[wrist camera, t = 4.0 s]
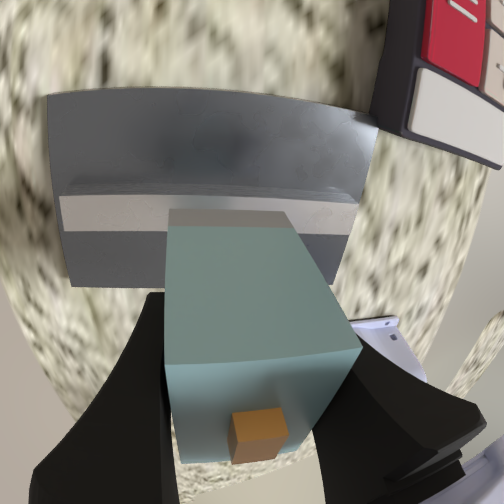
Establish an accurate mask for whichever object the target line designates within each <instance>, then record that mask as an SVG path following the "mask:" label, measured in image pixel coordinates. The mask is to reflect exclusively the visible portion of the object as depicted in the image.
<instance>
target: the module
mask: <svg viewBox="0 0 504 504" xmlns="http://www.w3.org/2000/svg"><path fill="white" fill-rule="evenodd" d="M362 348H363V346H362V344H361V342H360V341H359V339H358V337H357V335H356V333H355V332H354V330H353V328H352V326H351V324H350V323H349V321H348V319H347V317H346V315H345V314H344V312H343V310H342V308H341V307H340V305H339V303H338V301H337V300H336V298H335V296H334V294H333V293H332V291H331V289H330V287H329V286H328V284H327V282H326V280H325V279H324V277H323V275H322V274H321V272H320V270H319V268H318V267H317V265H316V263H315V262H314V260H313V258H312V257H311V255H310V253H309V252H308V250H307V248H306V247H305V245H304V243H303V242H302V240H301V238H300V237H299V235H298V233H297V232H296V230H295V229H294V227H293V225H292V224H291V222H290V220H289V219H288V217H287V216H286V214H285V212H284V211H260V210H225V209H169V217H168V231H167V248H166V270H165V306H164V356H165V371H166V379H167V386H168V393H169V399H170V405H171V412H172V418H173V423H174V429H175V434H176V440H177V445H178V450H179V455H180V460H181V464H188V463H207V462H220V461H231V464H232V465H233V464H242V463H250V462H257V461H264V460H270V459H275V457H276V456H277V454H282V453H287V452H293V451H296V450H297V449H298V448H299V446H300V445H301V444H302V442H303V441H304V440H305V438H306V437H307V435H308V434H309V433H310V431H311V430H312V428H313V427H314V425H315V424H316V422H317V421H318V420H319V418H320V417H321V415H322V414H323V412H324V411H325V409H326V408H327V406H328V405H329V403H330V401H331V400H332V398H333V397H334V395H335V394H336V392H337V391H338V389H339V387H340V386H341V384H342V382H343V381H344V379H345V378H346V376H347V374H348V373H349V371H350V369H351V368H352V366H353V364H354V362H355V361H356V359H357V357H358V355H359V354H360V352H361V350H362Z"/></svg>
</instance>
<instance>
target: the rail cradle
mask: <svg viewBox="0 0 504 504" xmlns="http://www.w3.org/2000/svg"><path fill="white" fill-rule="evenodd" d="M47 118H48V142H49V157H50V168H51V178H52V186H53V194H54V202H55V208H56V215H57V221H58V227H59V232H60V238H61V243H62V248H63V252H64V257H65V262H66V266H67V270H68V274H69V278H70V282H71V286H72V287H102V288H165V270H166V248H167V231H168V217H169V209H225V210H260V211H284V212H285V214H286V216H287V217H288V219H289V220H290V222H291V224H292V225H293V227H294V229H295V230H296V232H297V233H298V235H299V237H300V238H301V240H302V242H303V243H304V245H305V247H306V248H307V250H308V252H309V253H310V255H311V257H312V258H313V260H314V262H315V263H316V265H317V267H318V268H319V270H320V272H321V274H322V275H323V277H324V279H325V280H326V282H327V284H328V285H333V282H334V279H335V277H336V274H337V271H338V268H339V265H340V262H341V259H342V256H343V253H344V250H345V247H346V244H347V241H348V237H349V235H350V233H351V230H352V227H353V224H354V220H355V217H356V214H357V210H358V207H359V201H360V198H361V195H362V191H363V188H364V184H365V180H366V177H367V173H368V169H369V166H370V162H371V158H372V154H373V150H374V146H375V142H376V138H377V134H378V130H379V127H378V125H377V120H378V117H376V116H374V115H371V114H368V113H364V112H360V111H356V110H352V109H348V108H343V107H339V106H334V105H329V104H324V103H319V102H314V101H308V100H302V99H297V98H290V97H284V96H277V95H270V94H262V93H254V92H245V91H235V90H223V89H210V88H192V87H118V88H100V89H87V90H76V91H67V92H58V93H53V94H49V95H47Z"/></svg>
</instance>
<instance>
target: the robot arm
mask: <svg viewBox="0 0 504 504" xmlns="http://www.w3.org/2000/svg"><path fill="white" fill-rule="evenodd" d="M164 306H165V292H150V293H149V294H148V295H147V297H146V301H145V304H144V306H143V309H142V312H141V314H140V317H139V319H138V321H137V324H136V326H135V328H134V330H133V332H132V334H131V336H130V338H129V341H128V343H127V345H126V347H125V348H124V350H123V352H122V354H121V356H120V358H119V359H118V361H117V363H116V365H115V367H114V368H113V370H112V372H111V374H110V375H109V377H108V378H107V380H106V382H105V383H104V385H103V386H102V388H101V389H100V391H99V392H98V394H97V395H96V397H95V398H94V400H93V401H92V402H91V404H90V405H89V407H88V408H87V409H86V411H85V412H84V413H83V415H82V416H81V417H80V419H79V420H78V421H77V422H76V423H75V425H74V426H73V427H72V428H71V429H70V431H69V432H68V433H67V434H66V436H65V437H64V438H63V439H62V440H61V441H60V443H59V444H58V445H57V446H56V447H55V448H54V449H53V450H52V451H51V452H50V453H49V454H48V455H47V456H46V457H45V458H44V459H43V460H42V461H41V462H40V463H39V464H38V465H37V466H36V467H35V469H34V470H33V474H32V478H31V483H30V488H29V504H180V502H179V496H178V489H177V482H176V474H175V466H174V457H173V447H172V437H171V405H170V399H169V393H168V386H167V379H166V371H165V356H164ZM398 322H399V318H398V317H397V316H393V317H385V318H378V319H370V320H361V321H353V322H349V323H350V324H351V326H352V328H353V330H354V332H355V333H356V335H357V337H358V339H359V341H360V342H361V344H362V346H363V348H362V350H361V352H360V354H359V355H358V357H357V359H356V361H355V362H354V364H353V366H352V368H351V369H350V371H349V373H348V374H347V376H346V378H345V379H344V381H343V382H342V384H341V386H340V387H339V389H338V391H337V392H336V394H335V395H334V397H333V398H332V400H331V401H330V403H329V405H328V406H327V408H326V409H325V411H324V412H323V414H322V415H321V417H320V418H319V420H318V421H317V422H316V424H315V425H314V427H313V428H312V432H313V436H314V440H315V444H316V449H317V454H318V458H319V463H320V469H321V474H322V480H323V487H324V494H325V502H326V504H504V435H502V436H501V437H500V438H498V439H497V440H496V441H495V442H493V443H492V444H491V445H489V446H488V447H487V448H485V450H483V451H482V452H480V453H479V454H477V455H476V456H475V457H473V458H472V459H470V460H469V461H467V462H466V463H464V464H463V465H461V464H460V462H459V460H458V459H460V458H461V457H462V453H461V451H460V448H461V447H463V446H464V445H465V444H466V443H468V442H469V441H470V440H472V439H473V438H474V437H475V436H477V435H478V434H479V433H480V432H481V431H482V430H483V429H484V428H485V427H486V425H487V422H486V421H485V419H484V417H483V415H482V414H481V412H480V410H479V408H478V407H477V405H476V404H474V403H472V402H469V401H466V400H464V399H461V398H458V397H456V396H453V395H450V394H448V393H446V392H444V391H442V390H439V389H437V388H435V387H433V386H431V385H429V384H428V383H427V379H426V375H425V372H424V369H423V367H422V365H421V364H420V362H419V361H418V359H417V357H416V356H415V354H414V353H413V351H412V350H411V348H410V346H409V345H408V343H407V342H406V340H405V339H404V337H403V336H402V334H401V333H400V331H399V330H398V328H397V327H396V325H397V324H398Z"/></svg>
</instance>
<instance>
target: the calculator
mask: <svg viewBox="0 0 504 504" xmlns="http://www.w3.org/2000/svg"><path fill="white" fill-rule="evenodd" d="M369 114H371V115H374V116H376V117H378V120H377V125H378V127H379V129H381V130H384V131H386V132H389V133H392V134H394V135H397V136H400V137H402V138H406V139H409V140H412V141H416V142H419V143H422V144H426V145H429V146H432V147H435V148H438V149H441V150H444V151H447V152H450V153H453V154H456V155H459V156H462V157H464V158H467V159H470V160H472V161H475V162H478V163H480V164H483V165H485V166H488V167H490V168H493V169H495V170H500V169H501V167H502V165H503V164H504V0H390V6H389V15H388V24H387V32H386V39H385V46H384V53H383V56H382V58H381V60H380V63H379V67H378V73H377V78H376V83H375V88H374V92H373V97H372V102H371V106H370V111H369Z"/></svg>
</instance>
